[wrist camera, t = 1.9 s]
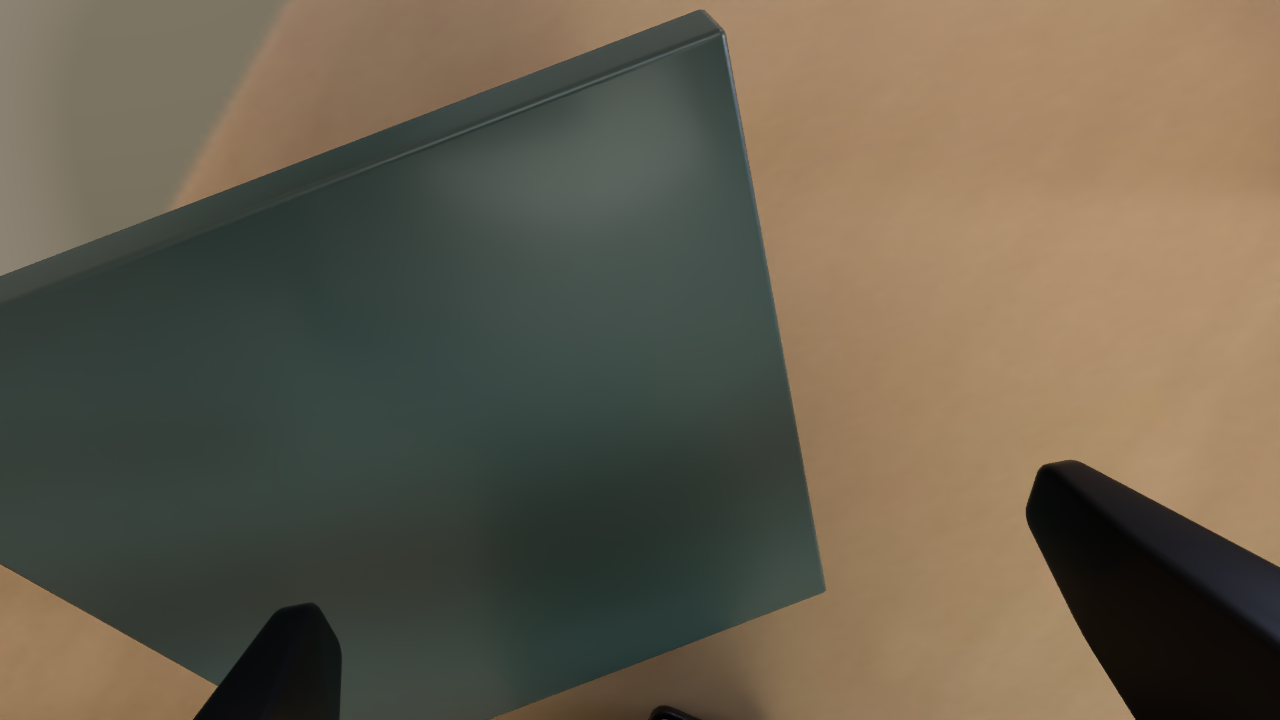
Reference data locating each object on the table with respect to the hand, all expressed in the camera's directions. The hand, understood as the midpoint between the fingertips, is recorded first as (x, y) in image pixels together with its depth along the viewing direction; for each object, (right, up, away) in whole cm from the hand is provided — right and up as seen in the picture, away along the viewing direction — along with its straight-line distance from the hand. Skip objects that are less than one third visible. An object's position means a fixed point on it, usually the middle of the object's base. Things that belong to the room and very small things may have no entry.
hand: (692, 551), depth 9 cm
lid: (-4, 0, +4) cm, 5 cm away
